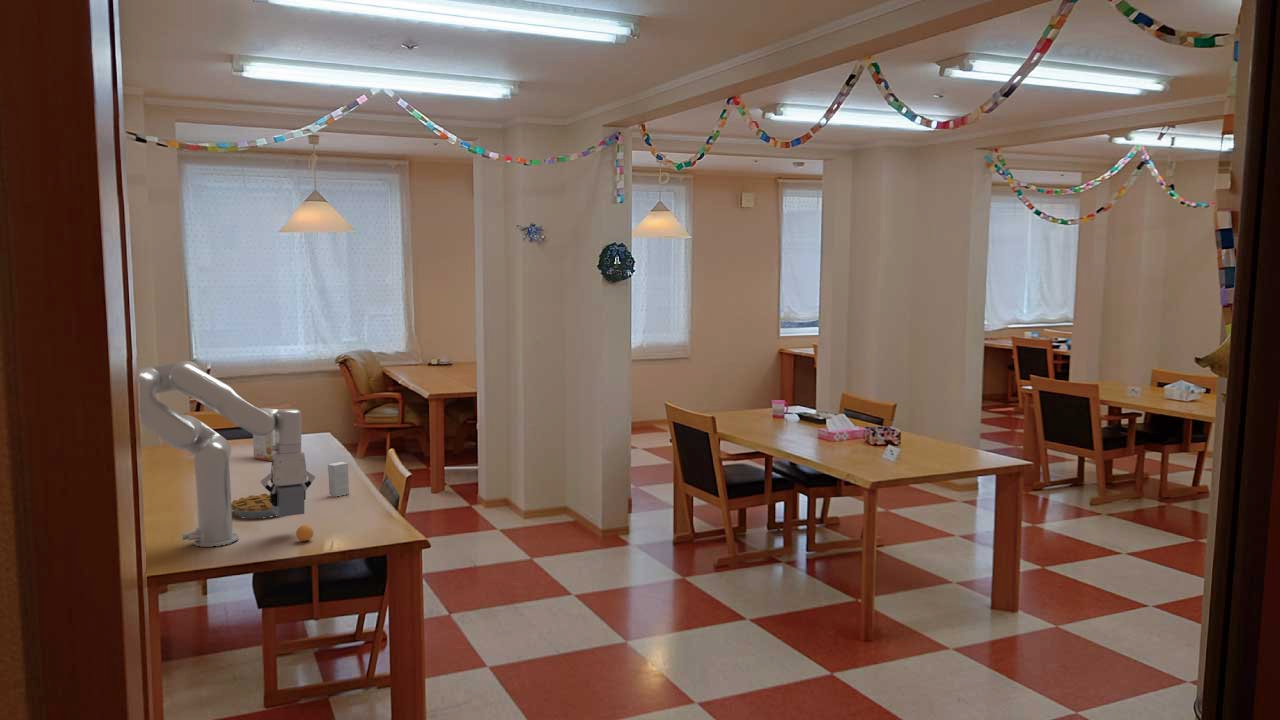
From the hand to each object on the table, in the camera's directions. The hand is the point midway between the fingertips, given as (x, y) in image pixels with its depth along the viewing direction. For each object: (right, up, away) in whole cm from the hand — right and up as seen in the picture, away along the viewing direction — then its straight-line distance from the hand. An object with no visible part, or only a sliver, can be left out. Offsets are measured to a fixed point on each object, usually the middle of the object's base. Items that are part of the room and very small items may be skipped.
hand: (288, 503), depth 298 cm
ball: (+7, -8, -6) cm, 13 cm away
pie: (-19, -8, +30) cm, 37 cm away
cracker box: (-53, +1, +120) cm, 132 cm away
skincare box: (-1, -5, +53) cm, 54 cm away
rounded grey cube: (0, -3, 0) cm, 3 cm away
